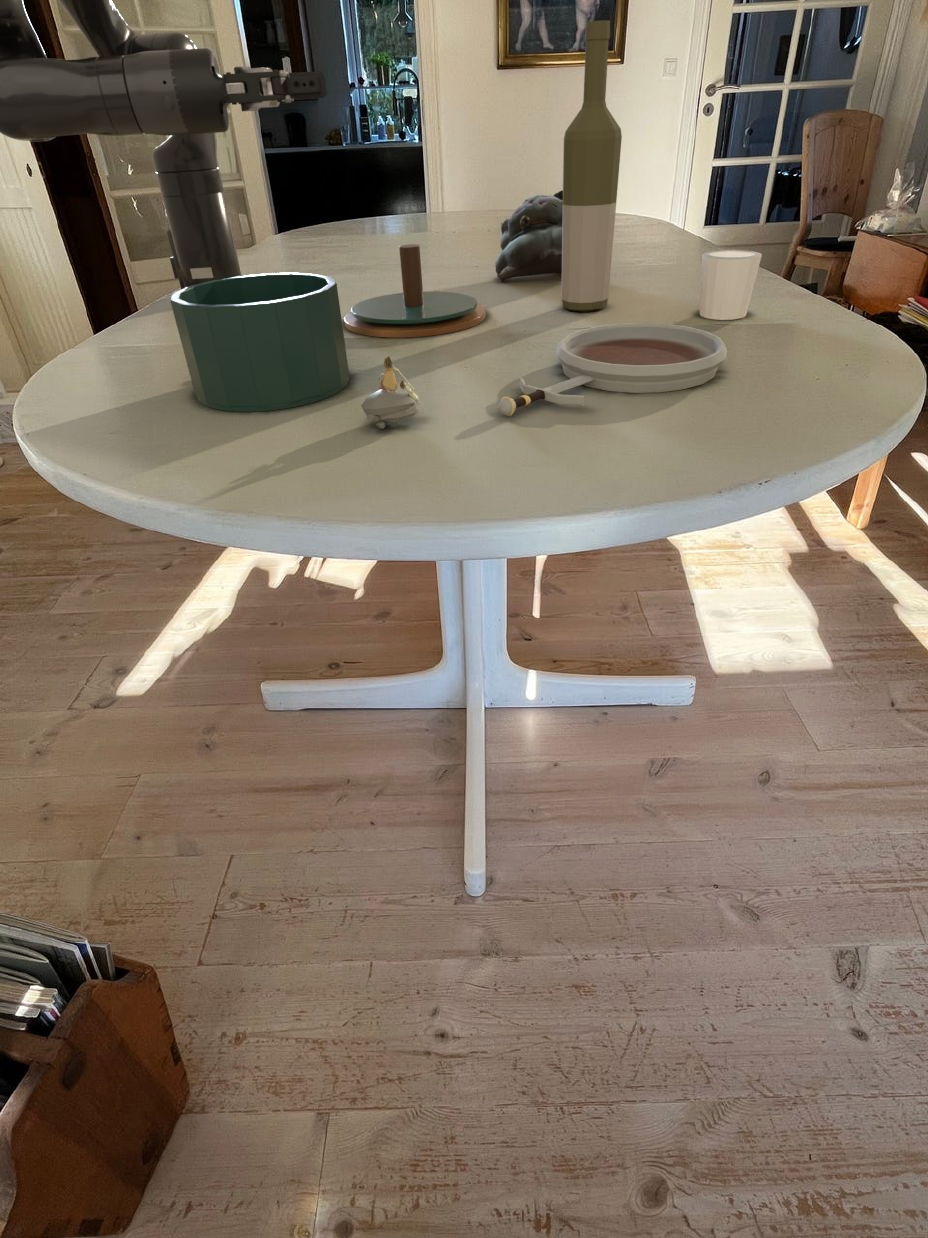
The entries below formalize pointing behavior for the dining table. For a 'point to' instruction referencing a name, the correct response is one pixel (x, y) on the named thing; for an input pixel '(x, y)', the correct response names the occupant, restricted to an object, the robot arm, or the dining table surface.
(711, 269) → the white cup
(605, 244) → the bottle
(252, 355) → the pot
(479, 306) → the trivet
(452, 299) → the lid
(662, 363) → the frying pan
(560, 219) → the grey lumpy animal shape
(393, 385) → the figurine
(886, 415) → the dining table surface
